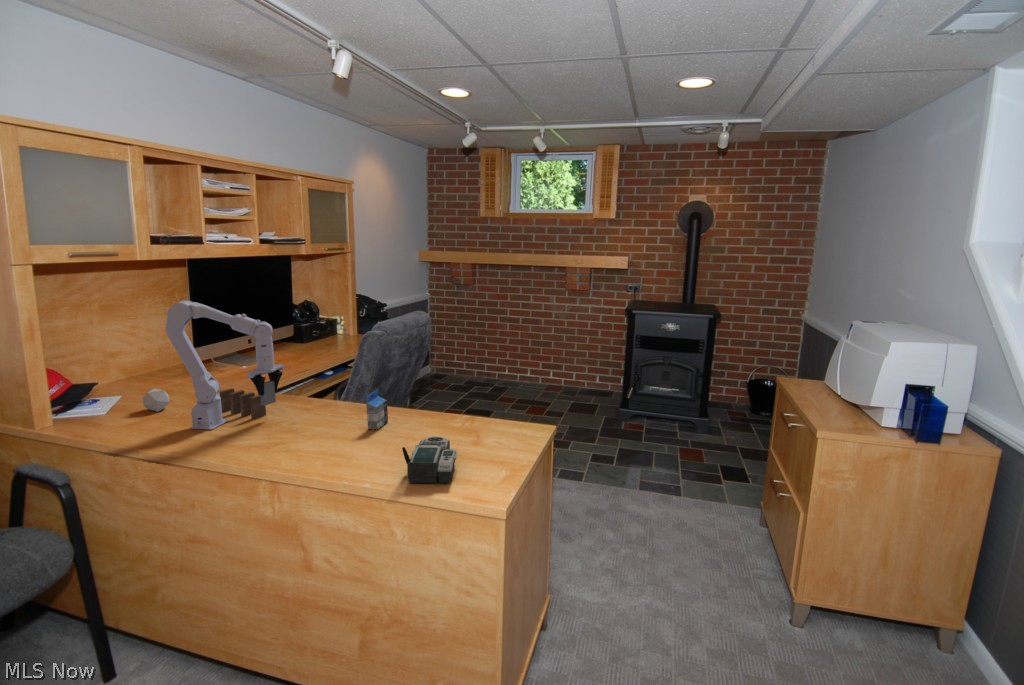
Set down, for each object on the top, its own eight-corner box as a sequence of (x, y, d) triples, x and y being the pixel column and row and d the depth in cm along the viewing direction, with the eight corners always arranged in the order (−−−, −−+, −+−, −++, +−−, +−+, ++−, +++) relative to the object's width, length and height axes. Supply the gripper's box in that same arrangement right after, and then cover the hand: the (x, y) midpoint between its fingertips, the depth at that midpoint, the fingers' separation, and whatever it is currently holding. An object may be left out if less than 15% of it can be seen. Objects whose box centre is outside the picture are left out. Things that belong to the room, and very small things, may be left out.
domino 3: (255, 413, 199) (254, 392, 198) (244, 416, 195) (242, 396, 193) (252, 412, 200) (251, 392, 199) (241, 416, 196) (239, 395, 194)
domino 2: (245, 410, 202) (244, 390, 200) (234, 414, 197) (232, 394, 196) (242, 410, 202) (241, 390, 201) (231, 413, 198) (229, 393, 196)
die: (176, 410, 203) (172, 387, 206) (160, 405, 195) (156, 381, 198) (155, 417, 203) (152, 394, 206) (138, 413, 195) (135, 389, 198)
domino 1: (235, 408, 204) (234, 388, 203) (224, 412, 200) (222, 392, 198) (233, 408, 205) (231, 388, 203) (221, 411, 200) (219, 391, 199)
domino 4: (266, 415, 197) (264, 394, 196) (254, 419, 193) (253, 398, 191) (263, 414, 198) (261, 394, 196) (251, 418, 193) (249, 397, 192)
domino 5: (275, 401, 194) (274, 380, 192) (264, 405, 189) (262, 384, 188) (272, 401, 194) (271, 380, 193) (261, 405, 190) (259, 383, 188)
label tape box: (377, 430, 184) (376, 396, 181) (366, 429, 184) (365, 395, 182) (388, 422, 192) (387, 389, 190) (378, 421, 193) (377, 389, 191)
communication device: (460, 447, 172) (461, 416, 170) (453, 486, 144) (453, 449, 142) (417, 446, 171) (416, 416, 170) (401, 485, 144) (400, 449, 142)
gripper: (255, 361, 180) (258, 399, 183) (289, 353, 193) (291, 389, 196) (241, 359, 183) (244, 396, 186) (275, 351, 196) (278, 387, 199)
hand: (267, 393), depth 191 cm, fingers closed on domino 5, 5 cm apart
